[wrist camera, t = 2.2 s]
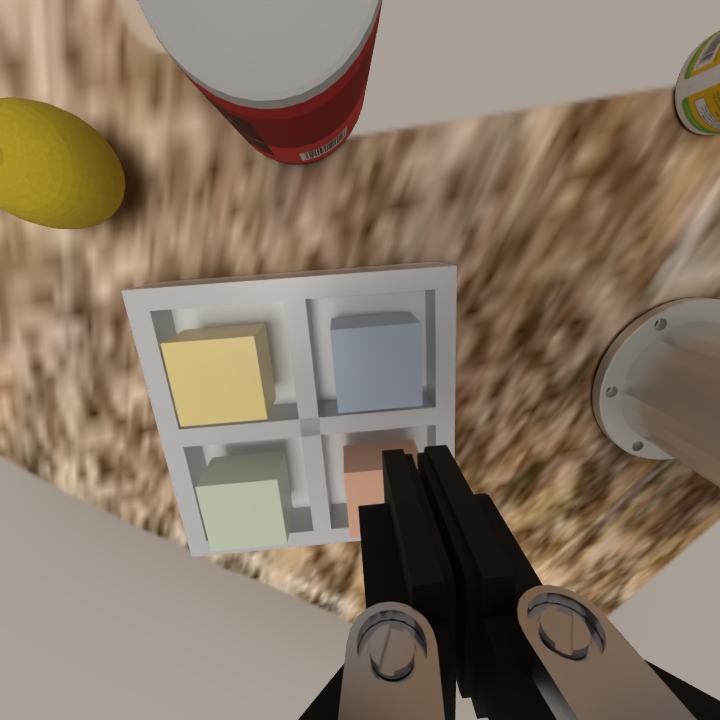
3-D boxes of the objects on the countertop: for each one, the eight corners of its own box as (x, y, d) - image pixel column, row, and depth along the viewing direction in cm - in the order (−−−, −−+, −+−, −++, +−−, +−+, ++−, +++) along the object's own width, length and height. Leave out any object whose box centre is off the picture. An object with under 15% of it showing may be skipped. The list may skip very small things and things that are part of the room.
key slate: (410, 312, 22) (421, 322, 19) (412, 385, 23) (422, 405, 20) (331, 318, 21) (330, 330, 19) (338, 391, 23) (338, 413, 20)
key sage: (284, 450, 24) (277, 479, 21) (293, 509, 25) (287, 543, 22) (212, 457, 24) (195, 487, 21) (225, 516, 25) (210, 551, 22)
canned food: (385, 45, 21) (433, -153, 10) (334, 189, 23) (331, 146, 12) (252, -25, 20) (153, -333, 9) (211, 134, 22) (92, 34, 11)
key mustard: (265, 323, 21) (253, 336, 18) (276, 396, 23) (267, 419, 20) (184, 329, 21) (160, 343, 18) (200, 403, 23) (180, 426, 20)
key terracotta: (413, 439, 24) (423, 466, 21) (415, 498, 26) (424, 530, 23) (343, 445, 24) (343, 473, 21) (348, 504, 25) (349, 537, 23)
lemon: (157, 231, 23) (68, 227, 15) (63, 229, 23) (-75, 224, 15) (143, 130, 21) (35, 69, 14) (42, 126, 21) (-126, 61, 13)
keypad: (436, 261, 24) (457, 265, 20) (437, 490, 30) (453, 531, 26) (160, 281, 24) (121, 290, 20) (213, 511, 29) (191, 556, 25)
